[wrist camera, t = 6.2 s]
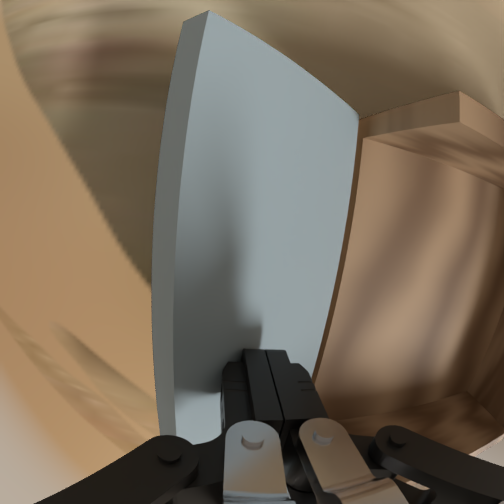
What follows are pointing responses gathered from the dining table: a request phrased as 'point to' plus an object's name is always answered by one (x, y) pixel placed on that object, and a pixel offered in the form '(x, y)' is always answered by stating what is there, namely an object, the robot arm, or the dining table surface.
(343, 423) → the crate
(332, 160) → the rectangular panel
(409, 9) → the dining table surface
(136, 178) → the dining table surface
